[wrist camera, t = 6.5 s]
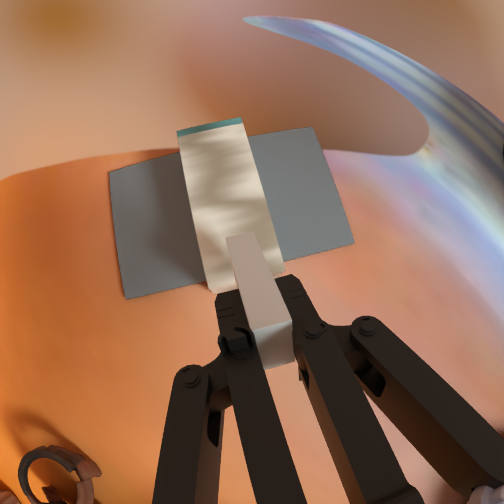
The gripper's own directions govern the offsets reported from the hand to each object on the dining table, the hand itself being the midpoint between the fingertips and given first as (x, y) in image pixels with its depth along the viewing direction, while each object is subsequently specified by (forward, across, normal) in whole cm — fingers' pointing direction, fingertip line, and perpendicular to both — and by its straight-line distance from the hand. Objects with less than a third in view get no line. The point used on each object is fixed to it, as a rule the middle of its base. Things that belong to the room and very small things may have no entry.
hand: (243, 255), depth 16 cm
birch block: (+3, 0, +4) cm, 5 cm away
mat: (+10, 0, +2) cm, 10 cm away
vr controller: (-7, +22, +19) cm, 30 cm away
